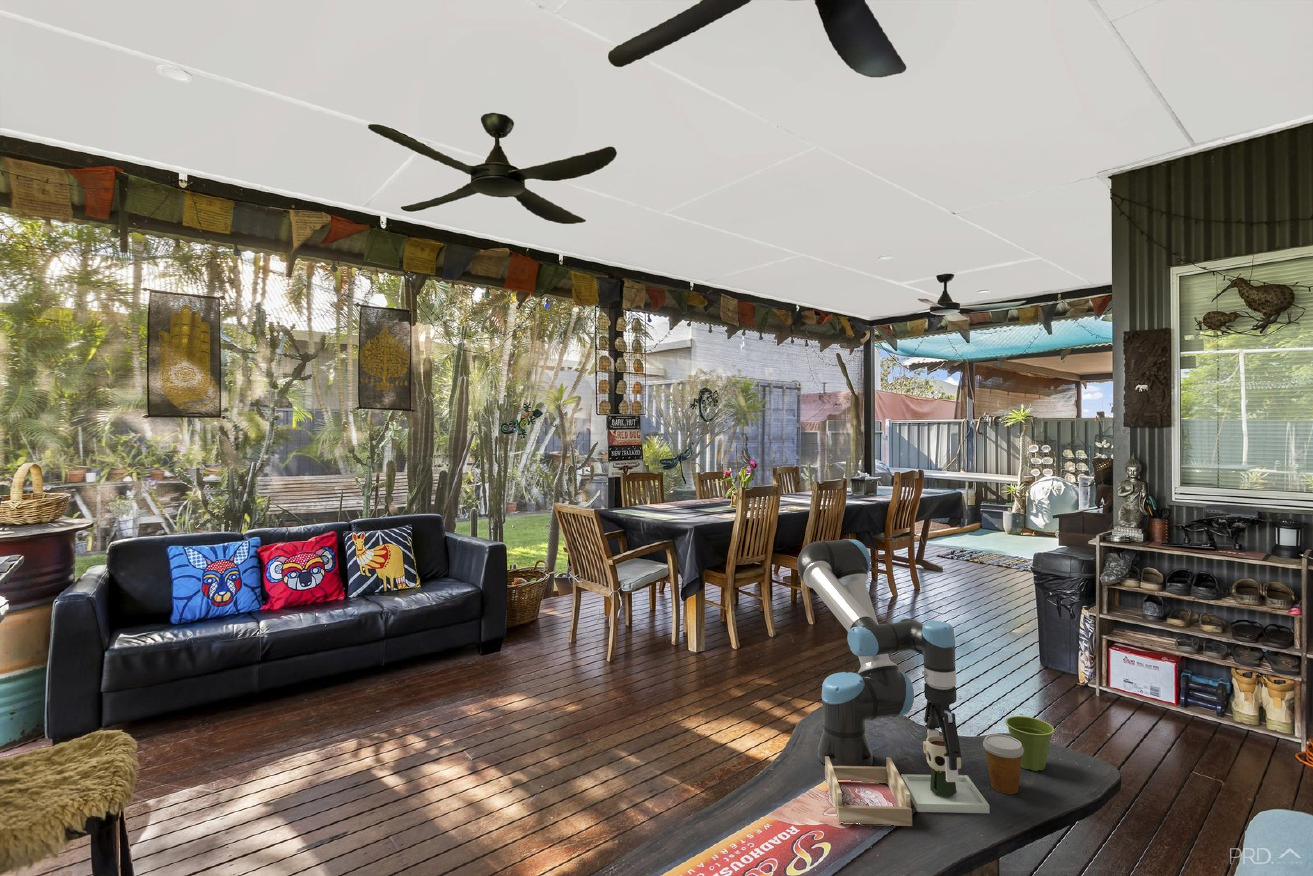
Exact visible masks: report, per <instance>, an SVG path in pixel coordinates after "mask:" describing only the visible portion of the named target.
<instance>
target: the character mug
mask: <svg viewBox="0 0 1313 876" xmlns="http://www.w3.org/2000/svg"><path fill="white" fill-rule="evenodd" d="M922 746H923V747H922V748H923V753H924V754H925V756H926V762H927V765H928V766H929V767H930V768H931V773H930V775H931V782H930V790H931V791H932V792H933V793H934V789H936V790H937V795H940V796H952V795H954V794H955V793H956V792H957V791H956V783H955V782H947V781H946V767H945V756H944V754H945V753H946V748H945V744H944V740H943V735H939V736H929V737H928V736H927V737H926V740H923V742H922ZM960 769H962V757H961V758H958V770H960Z"/></svg>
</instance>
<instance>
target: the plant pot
mask: <svg viewBox="0 0 1313 876" xmlns="http://www.w3.org/2000/svg"><path fill="white" fill-rule="evenodd" d="M1004 722H1005V724H1006V726H1007V728H1008V732H1009V735H1010V737H1013V738H1015V739H1017V740H1019V741H1020V742H1021V744H1022V747H1023V748H1024V753H1023V755H1022V760H1021V769H1023V770H1024V769H1025V770H1032V771H1033V772H1038V771H1037V770H1041V769H1044V768H1045V769H1046V764H1047V760H1048V759H1047V758H1048V752H1049V748H1050V741H1051V740H1052V735H1053V734H1054V733H1055V728H1054V726H1053V725H1052V724H1050V723H1049V722H1046V721H1044V720H1042V719H1039V718H1035V717H1031V716H1025V715H1013V716H1008V717H1007V718H1005V721H1004ZM1045 769H1044V770H1045ZM1041 771H1042V770H1041Z"/></svg>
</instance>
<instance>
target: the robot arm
mask: <svg viewBox="0 0 1313 876" xmlns="http://www.w3.org/2000/svg"><path fill="white" fill-rule="evenodd" d="M871 563H872V558H871V555H870V552H869V551H868V548H867V547H866V545H865V544H863V542H861V541H860V540H857V539H851V538H850V539H849V538H848V539H847V538H842V539H838V540H837V539H834V540H824V541H823V540H822V541H821V540H820V541H812V542H811V543H808V544H807V545H806V546H804V547H803V548H802V550H801V551H800V553H799V554H798V557H797V561H796V568H797V573H798V576H799V577H800V579H801V581H802V582H803V583H804V584H805V585H806V586H807V587H808V588H811V589H813V590H814V592H815V593H816V595H818V596H819V598H820V599H821V601H822V602H824V604H825V605H826V606H827V607H828V609H829V610H830V611H831V612H832V614H833V616H834V617H835V618H836V619H837V620H838V621H839V623H840V624H841V625H842V626H843V628H844V629H845V630H846V631H847V637H846V638H847V644H848V646H849V650H850V651H851V653H852V654H854V655H855V656H857V657H858V660H859V663H860V664H859V665H860V668H859V670H858V671H857V673H855V672H850V671H848V672H846V671H843V672H842V671H841V672H837V673H833V674H829V675H828V676H827V677H826V678H824V680H823V682H822V684H821V686H822V687H821V701H822V702H821V703H822V723H823V724H822V727H823V731H822V733H821V735H820V736H821V737H820V739H819V743H818V747H817V758H818V757H819V759H820V760H821V761H822V762H823V763H824V764H825V757H829V758H830V761H831V764H832V766H870V767H872V766H873V763H874V762H873V760H874V759H873V752H872V749H871V747H870V743H869V739H868V737H867V734H866V722H869V721H876V720H883V719H889V718H890V719H891V718H893V719H894V718H897V717H901V716H904V715H907V714H909V712H910V711H911V710H912V709H913V707H914V705H913V704H914V702H915V691H914V685H913V683H912V681H911V678H910V677H908V674H906V673H904V672H902V671H900V670H899V668H898V664H897V663H895V662H893V661H892V660H891V659H890V656H889V654H894V653H903V652H910V651H911V652H916V653H918V654H920V655H922V658H923V670H922V671H921V674H922V676H924V677H923V679H924V682H925V683H924V685H923V687H924V689H923V691H924V692H923V693H924V698H925V699H926V704H925V713H924V717H923V718H924V720H923V722H924V724H926V725H925V726H926V730H927V738H928V737H929V736H940V731H941V736H943V740H944V744H945V748H946V753H945V754H944V756H945V767H946V781H947V782H958V775H959V768H958V758H961V759H962V752H961V751H962V750H961V746H960V741H959V740H960V739H959V735H958V729H957V728H958V727H957V723H956V714H955V713H954V712H952V710H951V708H950V706H951V705H952V704H955V703H956V702H957V700H958V699H957V687H956V685H957V669H956V639H955V629H954V627H953V626H952V624H950V623H948V622H946V621H940V620H928V621H925V622H924V623H922V622H920V621H917V620H916V619H913V618H910V617H906V616H905V617H903V616H902V617H899V618H897V619H896V620H894V621H893V622H891V623H883V624H882V623H879V621H878V619H877V616H876V611H875V609H874V606H873V603H872V600H871V596H870V594H869V590H868V587H867V583H866V582H867V581H868V579H869V575H868V573H869V572H870V571H871V569H872V564H871ZM939 729H940V731H939ZM819 759H818V760H819ZM824 764H823V765H824Z"/></svg>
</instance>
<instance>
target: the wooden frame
mask: <svg viewBox="0 0 1313 876" xmlns="http://www.w3.org/2000/svg"><path fill="white" fill-rule="evenodd" d="M885 761H886V766H871V767H870V766H832V764H831V761H830V758H829V757H825V765H824V775H825V776H824V778H825V779H826V781H825V783H827V784H826V786H827V785H828V787H827V789H828V788H829V791H828V792H830V794H829V796H830V795H831V797H830V799H831V798H832V800H831V802H832V801H833V803H832V805H833V804H834V806H833V808H834V807H835V810H836V813H835V815H836V814H837V816H836V818H837V817H838V819H837V821H838V820H839V822H843V823H855V824H856V823H858V824H859V823H860V824H862V823H863V824H891V825H894V827H895V826H897V827H899V826H900V827H901V826H902V827H905V826H906V827H913V812H912V811H913V809H912V806H911V799H910V793H909V791H908V789H907V787H906V786H905V784H904V782H903V780H902V778H901V775H900V773H899V771H898V769H897V767H896V766H895V764H894V762H893V760H892V758H891V757H889V756H888V757H887V756H886V760H885ZM825 779H824V780H825ZM838 780H851V781H862V782H874V783H873V784H879V783H886V785H887V786H888V788H889V790H890V792H891V794H892V796H893V798H895V799H894V801H895V802H896V805H897V806H894V805H893V806H892V805H888V806H886V805H885V806H884V805H847V804H846V805H843V800H842V799H843V793H842V790H841V786H840V783H838ZM835 810H834V811H835ZM839 822H838V823H839ZM891 825H890V826H891Z"/></svg>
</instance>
